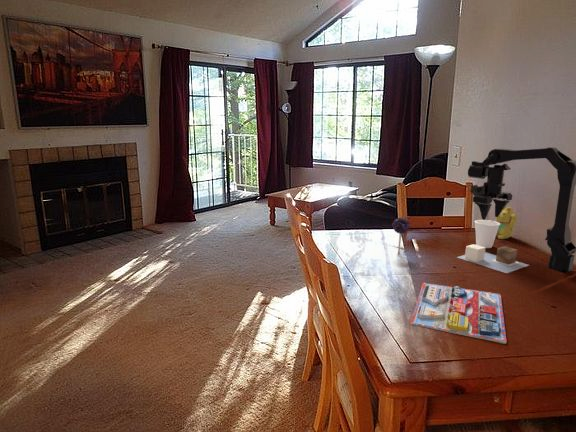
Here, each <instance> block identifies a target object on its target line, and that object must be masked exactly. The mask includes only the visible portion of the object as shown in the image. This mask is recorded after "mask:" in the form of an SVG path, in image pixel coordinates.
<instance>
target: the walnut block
mask: <svg viewBox="0 0 576 432" xmlns="http://www.w3.org/2000/svg"><path fill="white" fill-rule="evenodd" d="M495 255H496V261H498V262H502V263H505V264H508V265H509V264H512V263H515V262H516V261H517V255H518V249H516V248H512V247H509V246H506V245H505V246H500V247H498V248H497V250H496V254H495Z"/></svg>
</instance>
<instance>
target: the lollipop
mask: <svg viewBox="0 0 576 432" xmlns="http://www.w3.org/2000/svg"><path fill="white" fill-rule="evenodd" d="M391 227H392V228H393V230H394V232H395V233H397V234H399V235H398V237H399V239H398V248H397V254H398V255H400V253H401V252H400V251H401V242H402V241H401V240H402V234H403V235H404V234H406V233H408V231H409V230H410V228H411V224H410V222H409V220H408V219H407V218H405V217H397V218H396V219H394V220H393V222H392V224H391Z"/></svg>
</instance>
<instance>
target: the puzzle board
mask: <svg viewBox="0 0 576 432" xmlns="http://www.w3.org/2000/svg"><path fill="white" fill-rule="evenodd" d="M417 298H418V299H417V301H416V305H415V307H414V311H413V312H412V313H413V314H412V316H411V320H410V323H409V324H410V325H411V326H417V327H420V328H421V327H422V328H427V329H431V330H437V331H439V332H440V331H441V332H447V333H450V334H455V335H461V336H465V337H470V338H476V339H479V340H480V339H481V340H484V341H490V342H494V343H498V344H503V345H506V344H507V336H506V335H507V334H506V327H505V325H506V324H505V319H504V318H505V317H504V310H503V303H502V301H503V300H502V296H501V294H500V293H495V292H489V291H483V290H476V289H469V288H462V287H460V286H459V285H455V286H449V285H442V284H436V283H427V282H422V285H421V288H420V291H419V294H418V297H417Z"/></svg>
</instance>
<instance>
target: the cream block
mask: <svg viewBox="0 0 576 432" xmlns="http://www.w3.org/2000/svg"><path fill="white" fill-rule="evenodd" d="M486 249H487V248H486V247H482V246H478V245H476V243H475V244H470V245H466V247H465V252H464V255H465V259H468V260H471V261H474V262H479V261H482V260H484V256H485V252H486Z"/></svg>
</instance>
